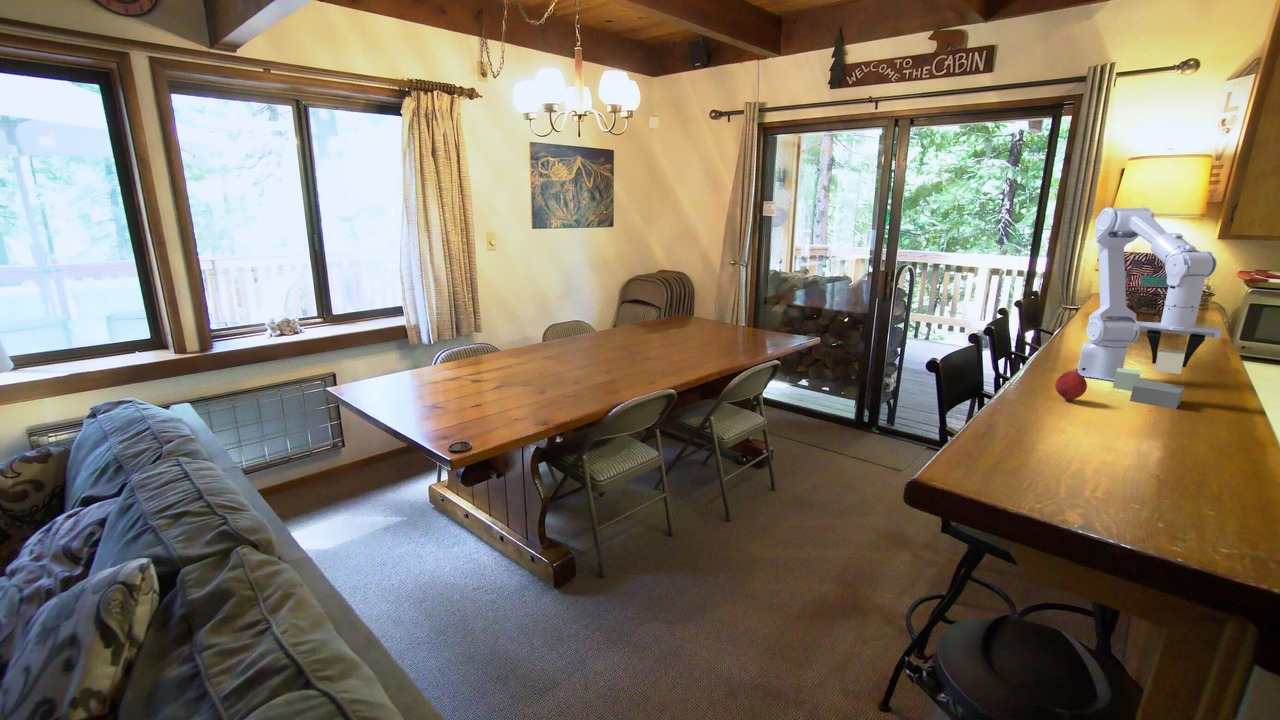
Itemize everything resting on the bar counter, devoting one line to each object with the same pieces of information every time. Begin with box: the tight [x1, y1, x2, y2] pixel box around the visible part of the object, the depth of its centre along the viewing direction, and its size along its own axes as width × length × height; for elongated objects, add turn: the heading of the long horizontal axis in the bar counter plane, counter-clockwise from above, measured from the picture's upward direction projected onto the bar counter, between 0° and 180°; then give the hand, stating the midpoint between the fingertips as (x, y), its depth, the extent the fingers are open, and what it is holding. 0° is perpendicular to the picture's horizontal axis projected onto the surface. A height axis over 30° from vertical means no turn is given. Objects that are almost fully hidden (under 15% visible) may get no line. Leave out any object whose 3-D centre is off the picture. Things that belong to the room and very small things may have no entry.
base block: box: [1129, 378, 1185, 410], centre depth 134 cm, size 8×8×4 cm
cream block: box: [1154, 348, 1186, 375], centre depth 133 cm, size 4×4×4 cm
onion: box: [1054, 367, 1088, 402], centre depth 134 cm, size 6×6×8 cm
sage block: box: [1112, 367, 1142, 392], centre depth 144 cm, size 4×4×4 cm
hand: (1168, 364), depth 133 cm, fingers closed on cream block, 4 cm apart
